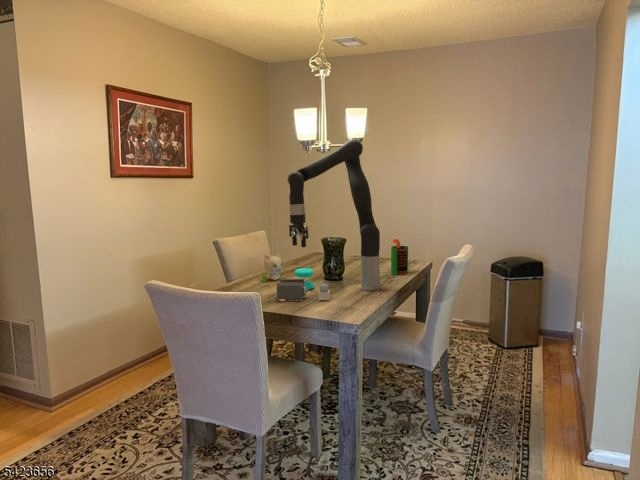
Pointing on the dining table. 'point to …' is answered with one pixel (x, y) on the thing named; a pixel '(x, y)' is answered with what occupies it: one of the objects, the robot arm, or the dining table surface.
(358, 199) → the robot arm
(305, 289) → the motor housing
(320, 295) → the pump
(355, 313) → the dining table surface
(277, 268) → the kitten
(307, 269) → the donuts
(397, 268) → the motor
